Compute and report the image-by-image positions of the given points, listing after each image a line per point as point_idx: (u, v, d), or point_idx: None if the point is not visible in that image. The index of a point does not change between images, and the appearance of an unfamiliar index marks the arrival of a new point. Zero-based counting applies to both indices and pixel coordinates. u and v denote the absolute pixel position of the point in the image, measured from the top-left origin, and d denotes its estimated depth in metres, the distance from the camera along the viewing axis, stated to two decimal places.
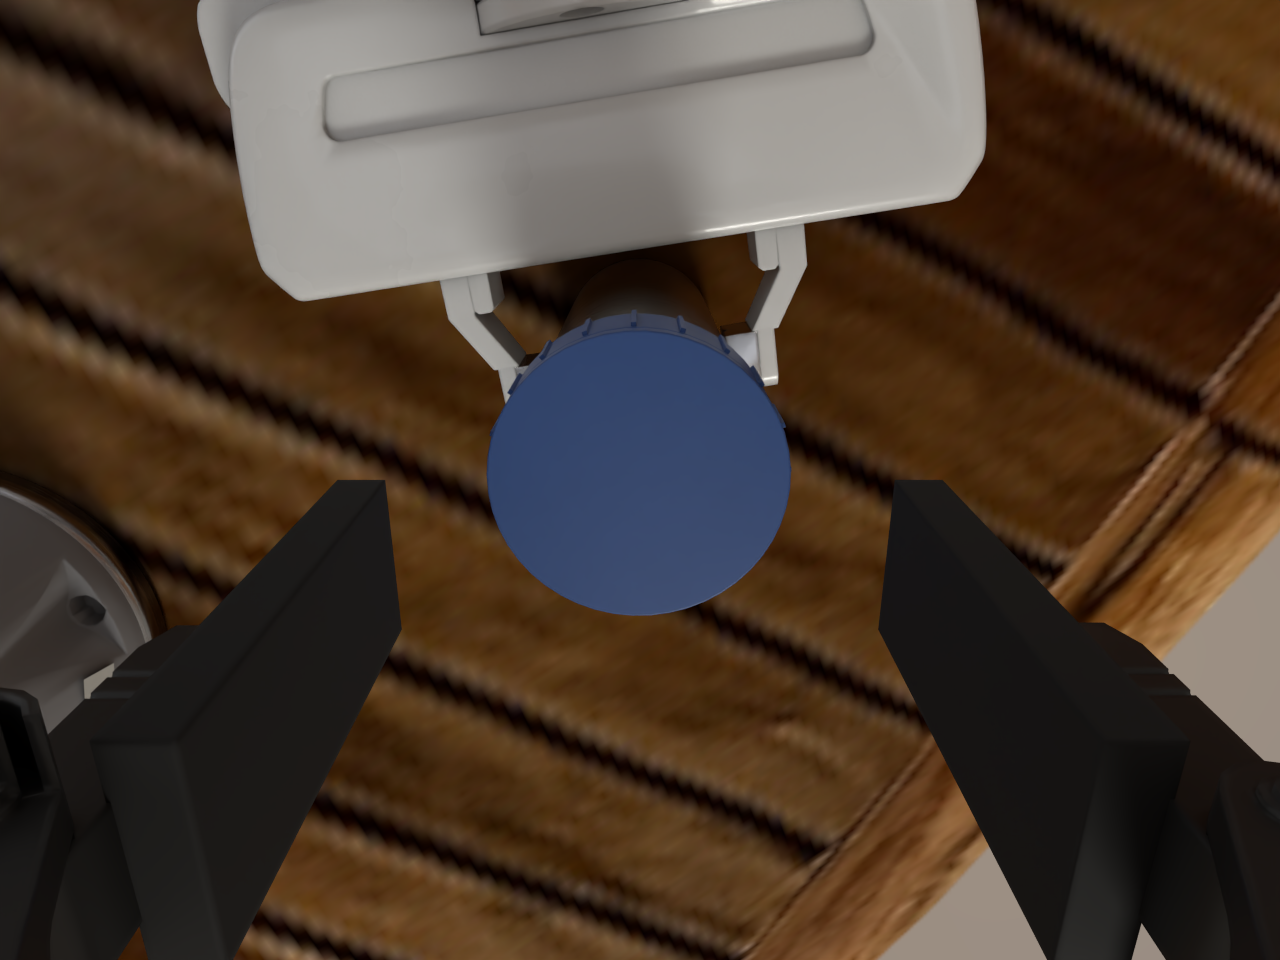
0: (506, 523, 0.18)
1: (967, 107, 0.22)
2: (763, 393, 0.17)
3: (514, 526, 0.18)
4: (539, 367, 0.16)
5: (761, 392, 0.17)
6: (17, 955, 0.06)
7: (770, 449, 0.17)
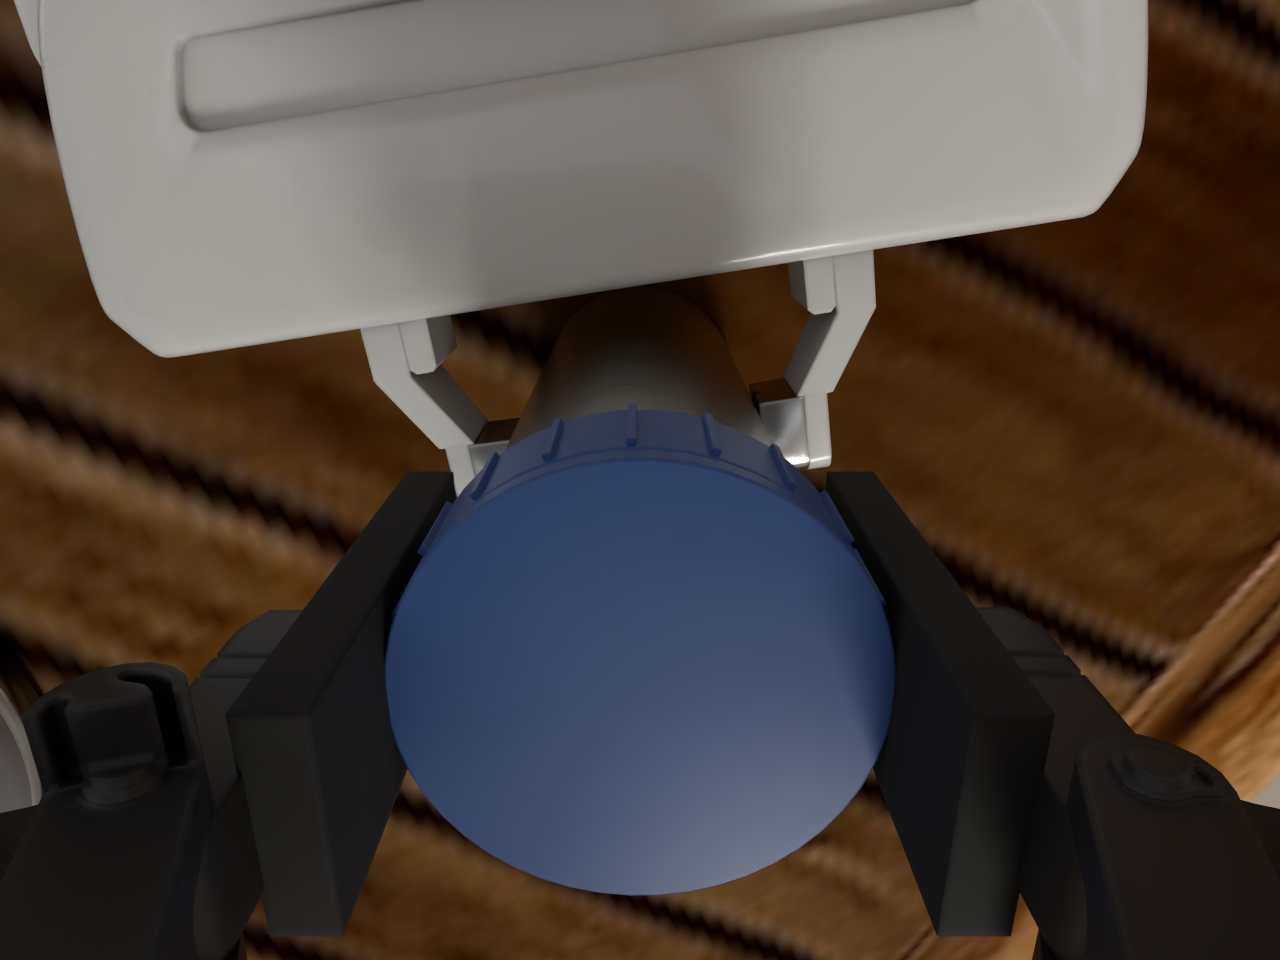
0: (420, 762, 0.11)
1: (1122, 81, 0.15)
2: (855, 562, 0.10)
3: (433, 767, 0.11)
4: (467, 519, 0.09)
5: (852, 560, 0.10)
6: (167, 923, 0.06)
7: (863, 650, 0.10)
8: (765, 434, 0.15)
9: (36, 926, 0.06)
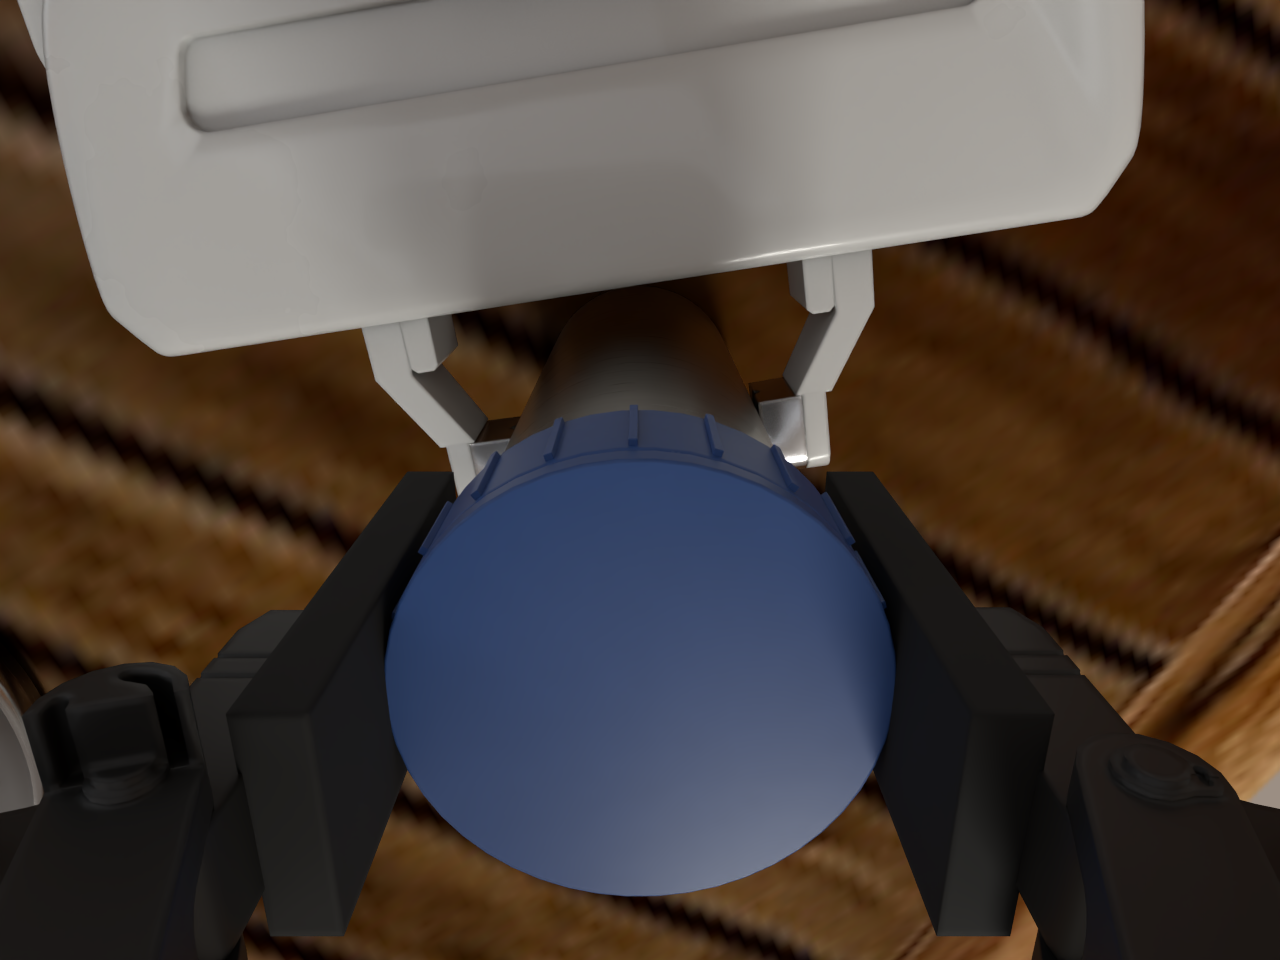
0: (708, 876, 0.11)
1: (1119, 82, 0.15)
2: (474, 513, 0.09)
3: (713, 868, 0.11)
4: (454, 827, 0.11)
5: (471, 517, 0.09)
6: (168, 922, 0.06)
7: (578, 497, 0.09)
8: (764, 432, 0.15)
9: (37, 925, 0.06)
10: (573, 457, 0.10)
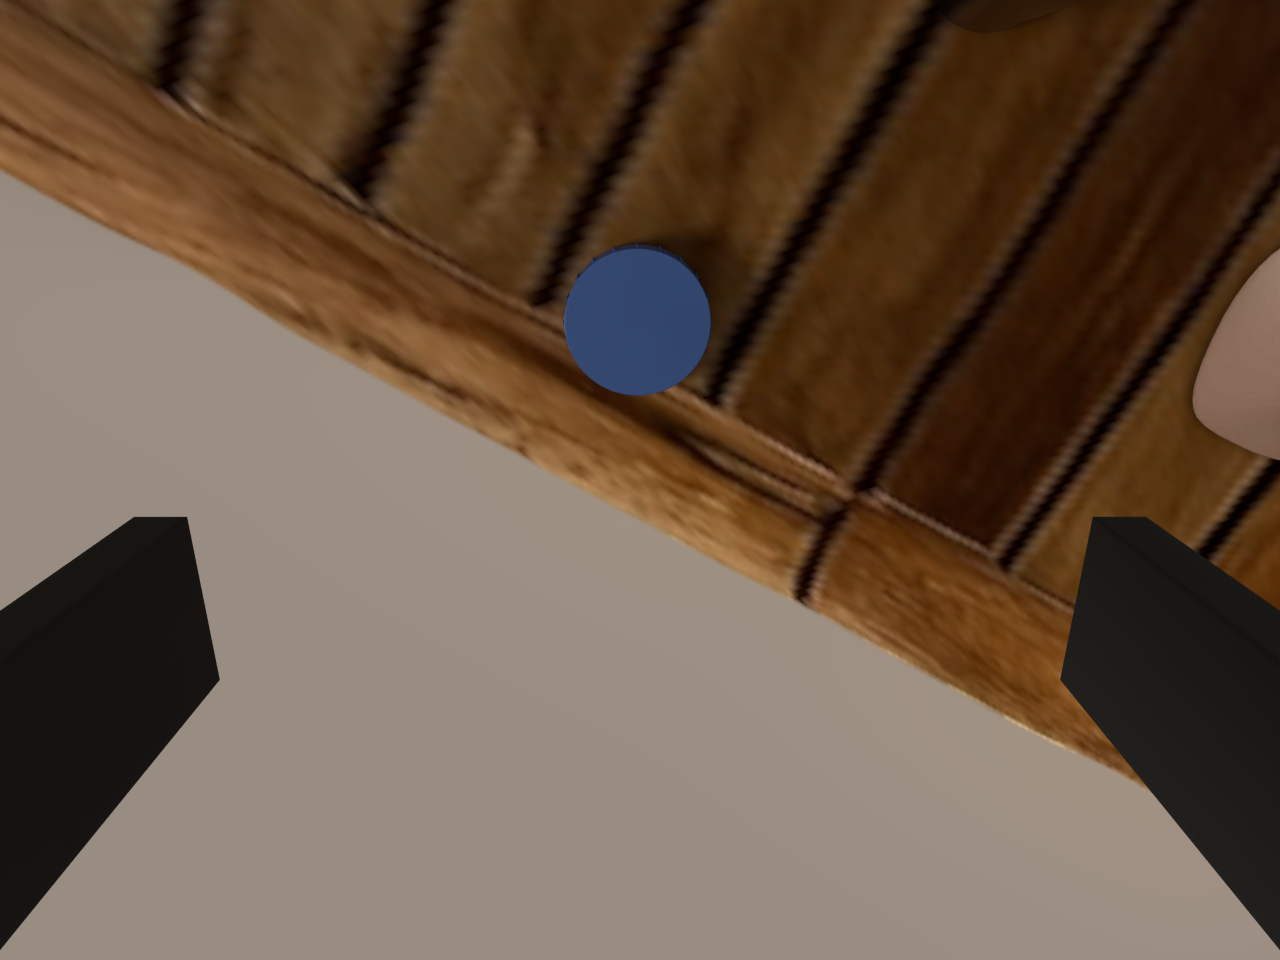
0: (572, 344, 0.36)
1: None
2: (697, 280, 0.35)
3: (576, 346, 0.36)
4: (592, 265, 0.35)
5: (696, 280, 0.35)
6: None
7: (701, 308, 0.36)
8: None
9: None
10: (708, 306, 0.36)
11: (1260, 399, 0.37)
